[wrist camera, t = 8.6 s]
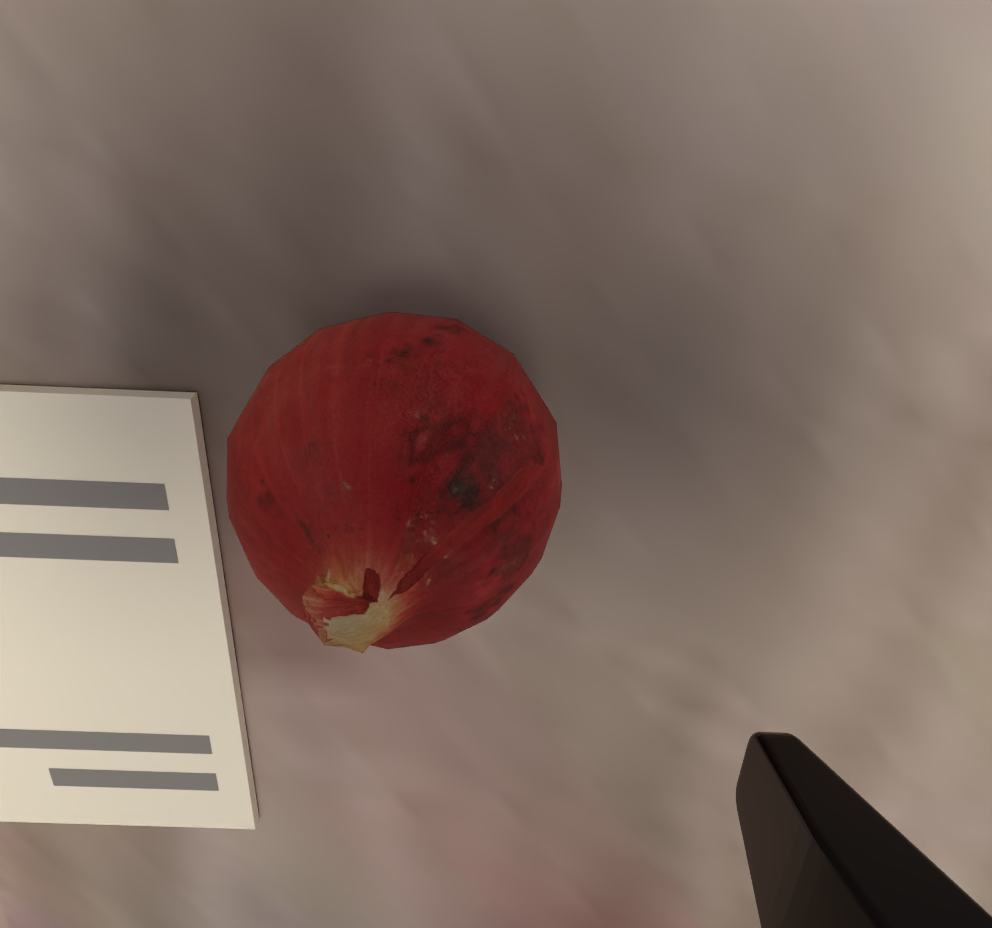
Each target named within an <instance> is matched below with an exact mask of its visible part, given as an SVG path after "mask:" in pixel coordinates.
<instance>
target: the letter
mask: <svg viewBox="0 0 992 928" xmlns="http://www.w3.org/2000/svg"><path fill="white" fill-rule="evenodd" d="M258 820H259V814H258V807H257V800H256V793H255V786H254V779H253V772H252V766H251V759H250V752H249V745H248V738H247V731H246V724H245V718H244V711H243V704H242V697H241V690H240V683H239V676H238V669H237V663H236V656H235V649H234V642H233V635H232V628H231V621H230V615H229V608H228V601H227V594H226V587H225V580H224V573H223V566H222V560H221V553H220V546H219V539H218V532H217V525H216V518H215V512H214V505H213V498H212V491H211V484H210V477H209V470H208V463H207V457H206V450H205V443H204V436H203V429H202V422H201V415H200V409H199V402H198V395H197V393H195V392H171V391H147V390H123V389H99V388H75V387H51V386H26V385H2V384H0V821H5V822H38V823H70V824H102V825H135V826H167V827H199V828H232V829H255V828H256V825H257V822H258Z"/></svg>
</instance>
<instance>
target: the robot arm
mask: <svg viewBox="0 0 992 928" xmlns="http://www.w3.org/2000/svg"><path fill="white" fill-rule="evenodd" d="M736 804H737V811H738V816H739V821H740V826H741V831H742V835H743V840H744V845H745V850H746V855H747V860H748V865H749V870H750V874H751V879H752V884H753V889H754V894H755V899H756V904H757V908H758V913H759V918H760V923H761V928H992V916H991V915H989V914H988V913H987V912H986V911H985V910H984V909H983V908H982V907H981V906H980V905H979V904H978V903H976V902H975V901H974V900H973V899H972V898H971V897H970V896H969V895H968V894H967V893H966V892H965V891H963V890H962V889H961V888H960V887H959V886H958V885H957V884H956V883H955V882H954V881H953V880H951V879H950V878H949V877H948V876H947V875H946V874H945V873H944V872H943V871H942V870H941V869H940V868H938V867H937V866H936V865H935V864H934V863H933V862H932V861H931V860H930V859H929V858H928V857H926V856H925V855H924V854H923V853H922V852H921V851H920V850H919V849H918V848H917V847H916V846H915V845H913V844H912V843H911V842H910V841H909V840H908V839H907V838H906V837H905V836H904V835H903V834H901V833H900V832H899V831H898V830H897V829H896V828H895V827H894V826H893V825H892V824H891V823H890V822H888V821H887V820H886V819H885V818H884V817H883V816H882V815H881V814H880V813H879V812H878V811H876V810H875V809H874V808H873V807H872V806H871V805H870V804H869V803H868V802H867V801H866V800H865V799H863V798H862V797H861V796H860V795H859V794H858V793H857V792H856V791H855V790H854V789H853V788H851V787H850V786H849V785H848V784H847V783H846V782H845V781H844V780H843V779H842V778H841V777H840V776H838V775H837V774H836V773H835V772H834V771H833V770H832V769H831V768H830V767H829V766H828V765H827V764H825V763H824V762H823V761H822V760H821V759H820V758H819V757H818V756H817V755H816V754H815V753H813V752H812V751H811V750H810V749H809V748H808V747H807V746H806V745H805V744H804V743H803V742H802V741H800V740H799V739H798V738H797V737H795V736H793V735H792V734H789V733H773V732H757V733H754V734H753V735H752V736H751V737H750V739H749V742H748V745H747V748H746V752H745V756H744V760H743V763H742V767H741V771H740V775H739V778H738V782H737V787H736Z"/></svg>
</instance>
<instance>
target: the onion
mask: <svg viewBox="0 0 992 928" xmlns="http://www.w3.org/2000/svg"><path fill="white" fill-rule="evenodd" d="M561 488H562V482H561V470H560V459H559V448H558V437H557V425H556V422H555V420H554V418H553V416H552V415H551V413H550V411H549V409H548V408H547V406H546V404H545V403H544V401H543V400H542V398H541V397H540V395H539V393H538V392H537V390H536V389H535V387H534V386H533V384H532V382H531V381H530V379H529V378H528V376H527V375H526V373H525V372H524V370H523V368H522V367H521V365H520V364H519V362H518V361H517V359H516V357H515V356H514V354H513V353H511V352H509V351H508V350H506V349H504V348H503V347H501V346H499V345H498V344H496V343H495V342H493V341H491V340H490V339H488V338H486V337H485V336H483V335H482V334H480V333H478V332H477V331H475V330H473V329H472V328H470V327H469V326H467V325H465V324H464V323H462V322H460V321H459V320H457V319H450V318H441V317H432V316H424V315H415V314H406V313H397V312H389V313H382V314H378V315H374V316H370V317H366V318H362V319H358V320H354V321H349V322H345V323H341V324H337V325H333V326H329V327H325V328H321V329H319V330H318V331H316V332H315V333H314V334H312V335H311V336H310V337H308V338H307V339H306V340H304V341H303V342H302V343H300V344H299V345H298V346H296V347H295V348H294V349H292V350H291V351H290V352H288V353H287V354H286V355H284V356H283V357H282V358H280V359H279V360H278V361H276V362H275V363H274V364H272V365H271V366H270V367H269V368H268V370H267V372H266V373H265V375H264V377H263V378H262V380H261V382H260V383H259V385H258V387H257V388H256V390H255V392H254V393H253V395H252V397H251V398H250V400H249V402H248V403H247V405H246V407H245V409H244V410H243V412H242V414H241V415H240V417H239V419H238V420H237V422H236V424H235V426H234V428H233V430H232V431H231V433H230V435H229V437H228V440H227V504H228V511H229V518H230V520H231V522H232V525H233V527H234V529H235V531H236V534H237V536H238V538H239V540H240V543H241V545H242V547H243V550H244V552H245V554H246V556H247V559H248V561H249V563H250V565H251V567H252V569H253V571H254V573H255V575H256V576H257V578H258V579H259V580H260V581H261V582H262V583H263V584H264V585H265V586H266V587H267V588H268V590H269V591H270V592H271V593H272V594H273V595H274V596H275V597H276V598H277V599H278V600H279V601H280V602H281V603H282V604H283V605H284V606H285V607H286V608H287V609H288V611H289V612H290V613H291V614H293V615H294V616H296V617H297V618H299V619H302V620H304V621H306V622H308V623H309V625H310V626H311V628H312V629H313V630H314V632H315V633H316V634H317V636H318V637H319V638H320V640H321V641H322V642H323V643H324V645H327V646H342V647H347V648H350V649H353V650H356V651H359V652H361V653H363V652H364V651H365V650H366V649H367V648H368V647H369V645H372V646H376V647H381V648H385V649H393V648H401V647H409V646H416V645H424V644H432V643H436V642H440V641H443V640H445V639H447V638H449V637H451V636H453V635H455V634H457V633H459V632H462V631H464V630H466V629H468V628H470V627H472V626H474V625H476V624H478V623H480V622H482V621H484V620H486V619H488V618H489V617H490V616H491V615H493V614H494V613H495V612H496V611H498V610H499V609H500V607H501V606H502V605H503V604H504V603H505V602H506V601H507V600H508V599H509V598H510V597H511V596H512V594H513V593H514V592H515V591H516V590H517V589H518V588H519V587H520V586H521V585H522V584H523V583H524V581H525V580H526V579H527V578H528V577H529V576H530V575H531V574H532V572H533V571H534V569H535V568H536V566H537V564H538V563H539V561H540V560H541V558H542V555H543V552H544V550H545V547H546V544H547V541H548V538H549V536H550V533H551V530H552V527H553V524H554V522H555V519H556V516H557V513H558V510H559V508H560V501H561Z"/></svg>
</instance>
